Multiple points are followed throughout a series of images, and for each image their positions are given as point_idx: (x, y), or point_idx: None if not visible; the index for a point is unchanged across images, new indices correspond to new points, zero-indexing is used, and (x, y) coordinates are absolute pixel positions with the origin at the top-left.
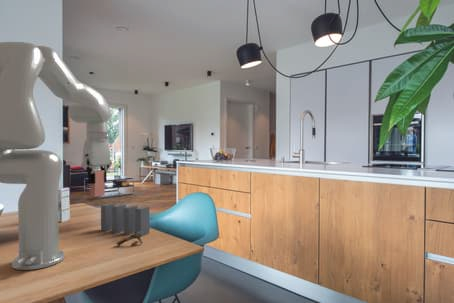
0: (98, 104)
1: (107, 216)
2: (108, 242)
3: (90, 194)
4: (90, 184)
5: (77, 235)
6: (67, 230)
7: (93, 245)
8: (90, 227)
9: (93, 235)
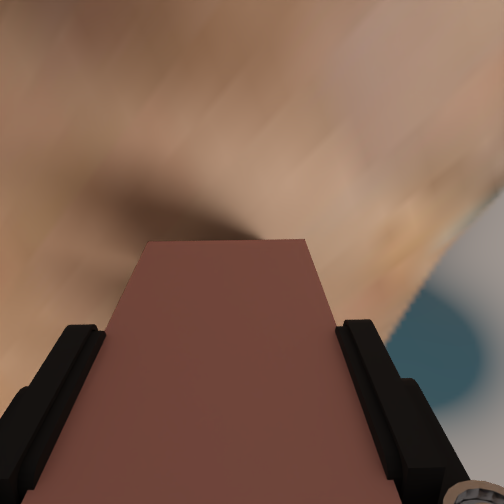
0: None
1: None
2: None
3: (144, 254)
4: (111, 326)
5: (63, 185)
6: (97, 12)
7: (11, 382)
8: (227, 110)
9: (112, 269)
